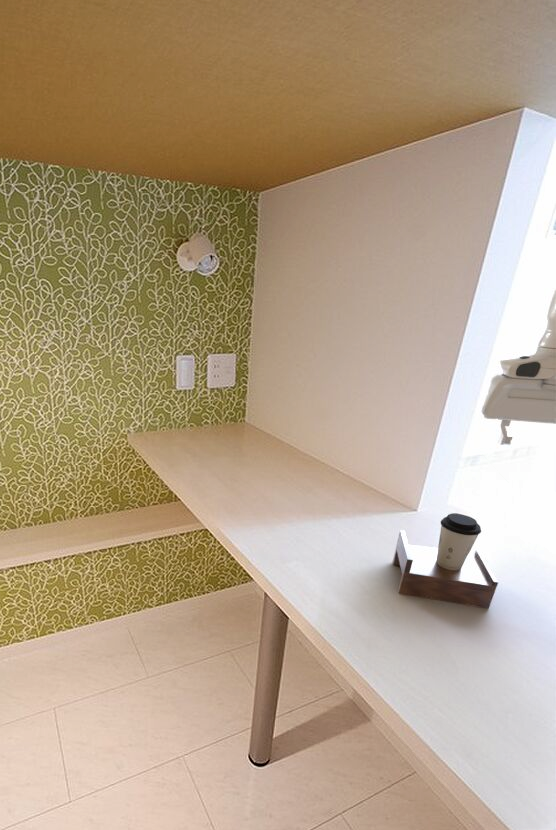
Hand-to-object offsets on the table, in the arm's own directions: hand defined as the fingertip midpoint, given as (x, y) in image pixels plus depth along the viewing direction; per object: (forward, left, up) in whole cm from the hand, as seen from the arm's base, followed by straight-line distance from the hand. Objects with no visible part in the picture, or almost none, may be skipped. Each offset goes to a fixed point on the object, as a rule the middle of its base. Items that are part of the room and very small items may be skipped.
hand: (533, 446), depth 78 cm
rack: (+10, +4, -29) cm, 31 cm away
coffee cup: (+9, +4, -24) cm, 26 cm away
